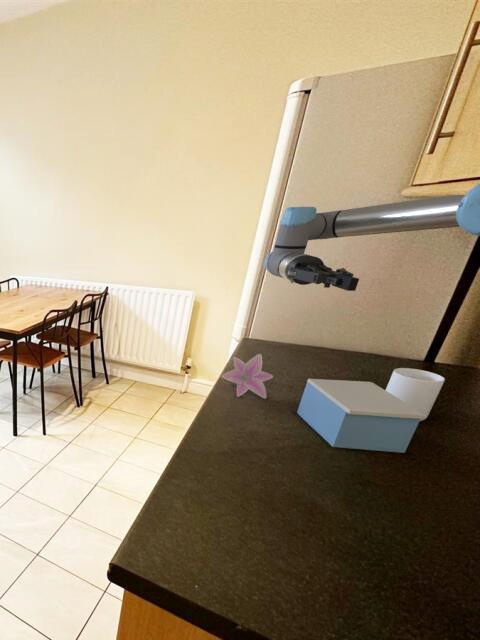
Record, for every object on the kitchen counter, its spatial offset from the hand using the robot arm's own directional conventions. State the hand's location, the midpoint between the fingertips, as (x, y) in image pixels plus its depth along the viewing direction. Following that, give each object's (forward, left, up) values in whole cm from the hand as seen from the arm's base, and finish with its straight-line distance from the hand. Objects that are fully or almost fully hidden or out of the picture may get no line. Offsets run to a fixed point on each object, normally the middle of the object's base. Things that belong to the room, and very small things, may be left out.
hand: (353, 284), depth 93 cm
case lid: (-8, +12, -22) cm, 26 cm away
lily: (+14, +5, -30) cm, 34 cm away
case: (-8, +12, -30) cm, 33 cm away
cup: (-15, -9, -30) cm, 35 cm away
